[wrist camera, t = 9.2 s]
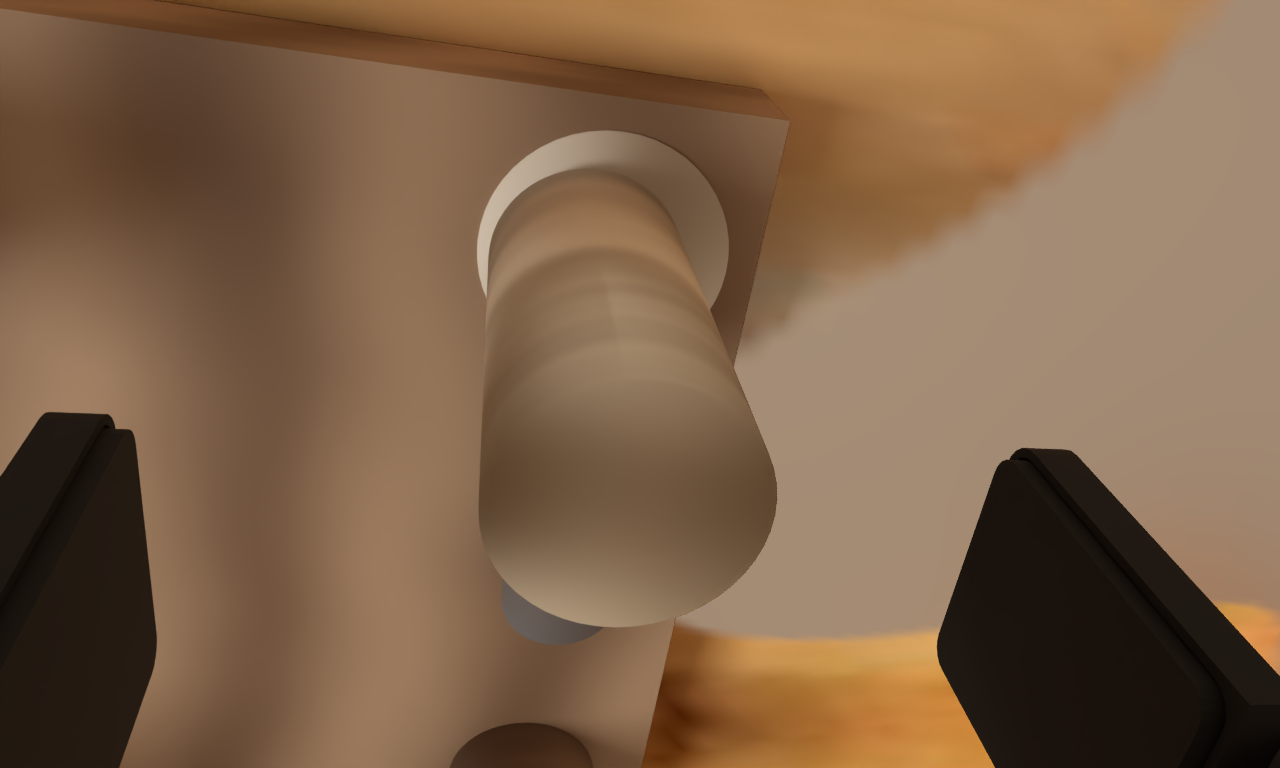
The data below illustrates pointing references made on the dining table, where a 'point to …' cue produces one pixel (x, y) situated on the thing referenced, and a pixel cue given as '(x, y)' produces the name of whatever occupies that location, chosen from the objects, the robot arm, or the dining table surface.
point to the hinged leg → (610, 418)
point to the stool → (328, 357)
